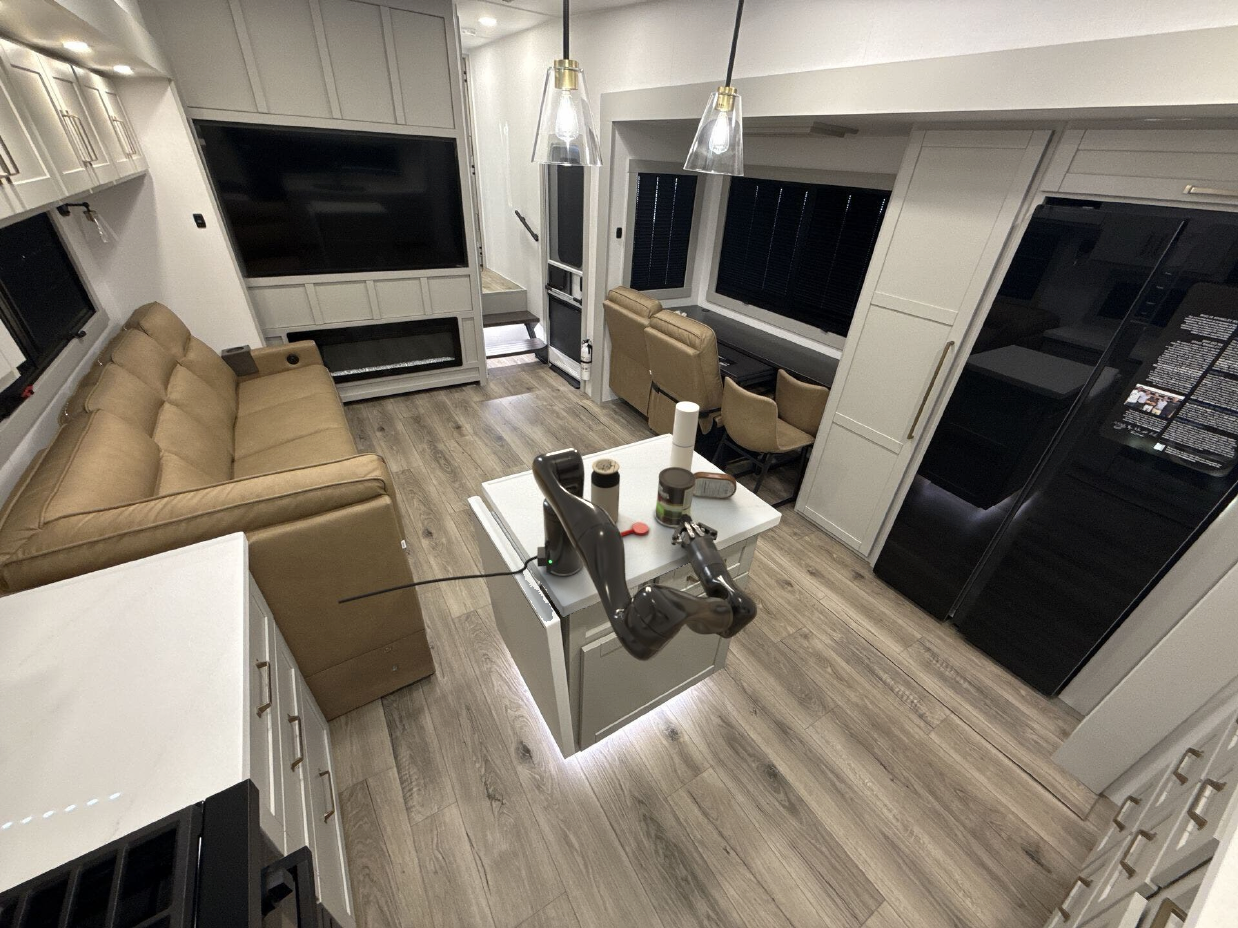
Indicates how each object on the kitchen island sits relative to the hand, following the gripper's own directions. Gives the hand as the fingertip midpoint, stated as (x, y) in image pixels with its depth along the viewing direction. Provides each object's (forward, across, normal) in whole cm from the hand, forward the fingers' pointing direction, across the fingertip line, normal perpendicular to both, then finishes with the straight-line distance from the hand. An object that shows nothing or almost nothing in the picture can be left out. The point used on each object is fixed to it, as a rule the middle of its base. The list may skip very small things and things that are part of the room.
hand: (684, 516), depth 131 cm
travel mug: (+11, -20, -7) cm, 24 cm away
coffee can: (+9, 0, -7) cm, 11 cm away
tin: (+16, +15, -7) cm, 23 cm away
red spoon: (+3, -16, -7) cm, 17 cm away
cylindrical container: (+30, +9, -7) cm, 32 cm away
